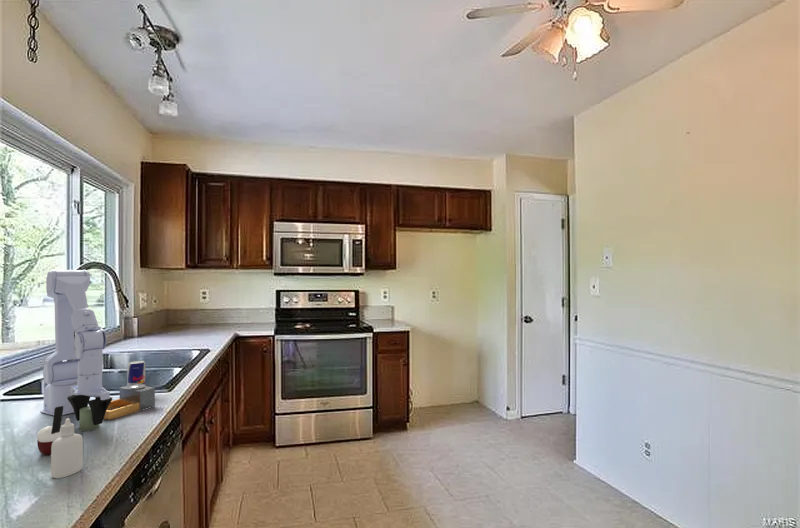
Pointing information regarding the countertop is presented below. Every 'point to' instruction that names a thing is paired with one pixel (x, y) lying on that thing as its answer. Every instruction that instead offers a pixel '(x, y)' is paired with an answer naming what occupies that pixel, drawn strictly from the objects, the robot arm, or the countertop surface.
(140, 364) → the energy drink
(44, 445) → the cocoa
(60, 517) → the countertop surface
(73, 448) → the eye dropper bottle
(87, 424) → the spout can
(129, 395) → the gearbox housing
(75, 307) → the robot arm
